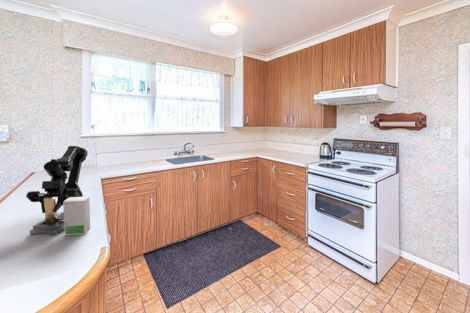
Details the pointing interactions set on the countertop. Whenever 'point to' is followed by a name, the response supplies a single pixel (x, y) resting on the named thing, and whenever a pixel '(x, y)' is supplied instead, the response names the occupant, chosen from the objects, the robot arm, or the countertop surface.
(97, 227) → the countertop surface
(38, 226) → the gray open box
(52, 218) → the brass pin
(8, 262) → the countertop surface
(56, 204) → the robot arm
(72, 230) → the skincare box
